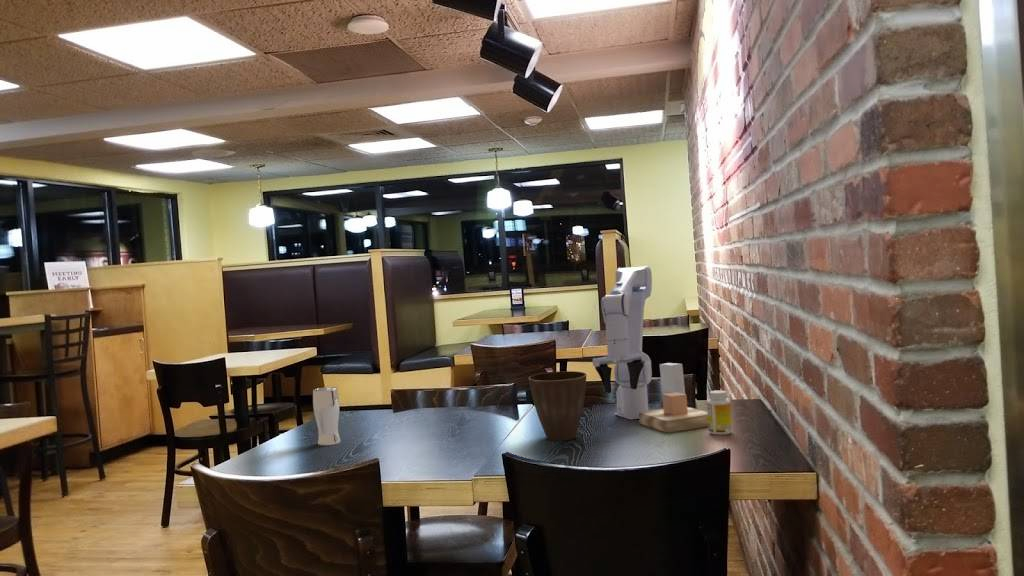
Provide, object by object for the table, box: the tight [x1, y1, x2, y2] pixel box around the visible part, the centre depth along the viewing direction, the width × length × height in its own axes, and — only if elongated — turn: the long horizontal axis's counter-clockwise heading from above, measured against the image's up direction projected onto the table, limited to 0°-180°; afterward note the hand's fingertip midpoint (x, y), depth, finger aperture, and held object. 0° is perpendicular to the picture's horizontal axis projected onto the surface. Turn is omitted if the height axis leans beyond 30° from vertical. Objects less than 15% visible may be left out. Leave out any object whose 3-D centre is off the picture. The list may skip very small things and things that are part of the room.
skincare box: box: [659, 362, 686, 394], centre depth 218 cm, size 6×4×12 cm
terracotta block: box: [662, 392, 688, 415], centre depth 188 cm, size 4×4×5 cm
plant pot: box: [527, 370, 587, 442], centre depth 183 cm, size 15×15×16 cm
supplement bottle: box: [706, 389, 733, 436], centre depth 175 cm, size 6×6×10 cm
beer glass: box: [312, 386, 341, 447], centre depth 196 cm, size 7×7×15 cm
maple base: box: [638, 406, 709, 434], centre depth 188 cm, size 14×14×3 cm
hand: (621, 390), depth 189 cm, fingers open, 7 cm apart
